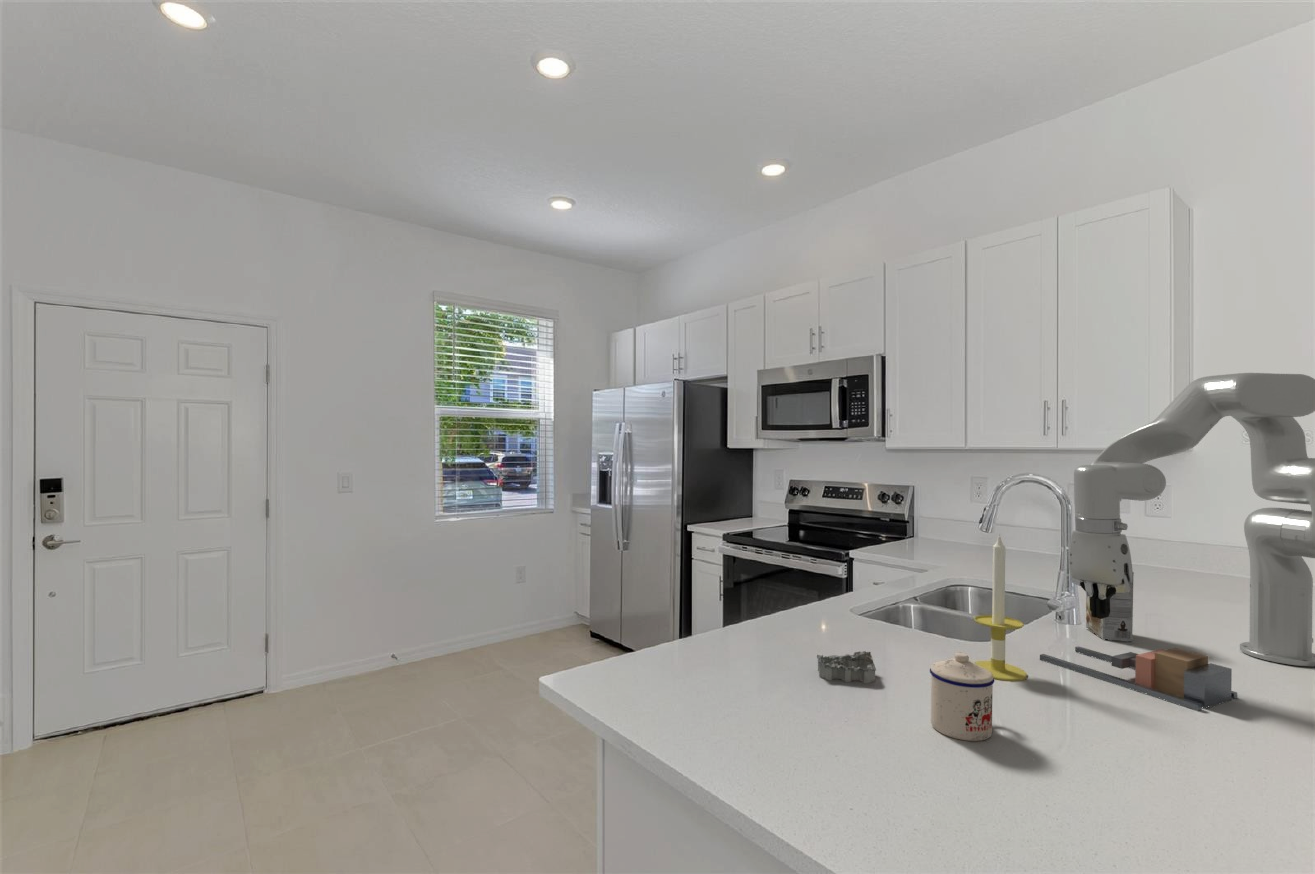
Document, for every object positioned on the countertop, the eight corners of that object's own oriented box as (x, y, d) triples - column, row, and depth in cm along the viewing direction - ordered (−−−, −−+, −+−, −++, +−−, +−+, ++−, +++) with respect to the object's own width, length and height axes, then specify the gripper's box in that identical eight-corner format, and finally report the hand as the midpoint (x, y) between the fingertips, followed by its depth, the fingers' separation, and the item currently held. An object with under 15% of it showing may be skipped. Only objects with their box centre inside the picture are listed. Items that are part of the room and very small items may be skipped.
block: (1175, 685, 118) (1175, 647, 118) (1207, 695, 114) (1208, 656, 114) (1154, 691, 115) (1154, 652, 115) (1186, 701, 111) (1187, 661, 111)
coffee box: (1084, 628, 154) (1085, 562, 154) (1113, 630, 152) (1114, 563, 152) (1102, 640, 145) (1103, 570, 145) (1134, 642, 143) (1135, 571, 143)
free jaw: (1134, 669, 125) (1134, 641, 125) (1177, 682, 119) (1177, 652, 119) (1107, 676, 121) (1107, 647, 121) (1150, 690, 115) (1151, 659, 115)
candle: (969, 675, 121) (971, 535, 122) (968, 659, 131) (970, 528, 131) (1029, 684, 117) (1031, 539, 117) (1024, 667, 126) (1026, 532, 126)
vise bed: (1078, 651, 137) (1078, 625, 137) (1237, 698, 112) (1237, 667, 112) (1039, 659, 131) (1040, 632, 131) (1198, 711, 106) (1198, 678, 107)
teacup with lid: (975, 749, 92) (976, 669, 92) (917, 725, 100) (918, 651, 100) (1013, 727, 99) (1014, 653, 99) (956, 707, 107) (957, 638, 107)
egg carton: (873, 672, 123) (873, 651, 123) (877, 686, 116) (877, 664, 116) (816, 666, 126) (817, 646, 126) (817, 680, 118) (817, 658, 118)
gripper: (1150, 529, 123) (1152, 623, 123) (1070, 520, 136) (1073, 605, 136) (1127, 532, 119) (1130, 629, 119) (1049, 523, 133) (1051, 611, 133)
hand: (1100, 616), depth 128 cm, fingers closed
